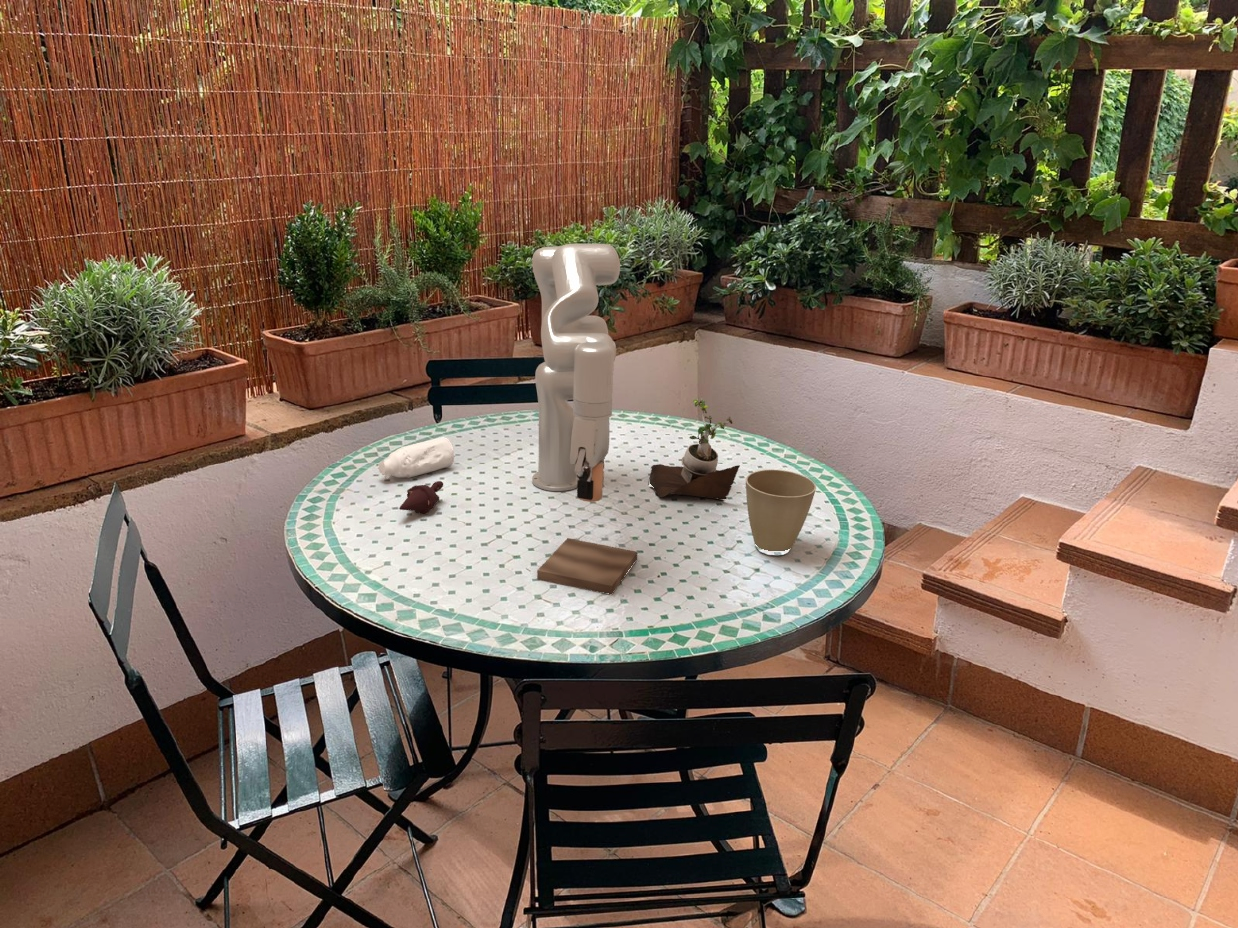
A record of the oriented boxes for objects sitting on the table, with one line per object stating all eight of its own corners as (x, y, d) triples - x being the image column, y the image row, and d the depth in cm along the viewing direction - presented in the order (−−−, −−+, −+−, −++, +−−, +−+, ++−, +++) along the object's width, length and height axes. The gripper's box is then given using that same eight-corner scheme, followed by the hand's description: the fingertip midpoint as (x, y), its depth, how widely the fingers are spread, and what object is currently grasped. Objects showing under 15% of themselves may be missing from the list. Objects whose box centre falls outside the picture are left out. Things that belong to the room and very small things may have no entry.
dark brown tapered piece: (416, 502, 204) (456, 485, 217) (390, 487, 206) (431, 471, 219) (409, 528, 207) (449, 510, 220) (384, 514, 209) (425, 496, 222)
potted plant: (719, 481, 245) (746, 403, 230) (723, 526, 230) (753, 446, 215) (646, 467, 243) (669, 388, 228) (646, 512, 228) (670, 430, 213)
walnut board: (567, 546, 201) (567, 537, 200) (637, 560, 196) (637, 551, 195) (537, 579, 187) (537, 570, 186) (611, 594, 182) (611, 585, 181)
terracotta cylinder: (583, 490, 188) (583, 458, 186) (606, 494, 187) (607, 461, 184) (573, 499, 184) (574, 466, 181) (597, 503, 182) (598, 470, 180)
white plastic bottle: (374, 478, 232) (372, 449, 229) (438, 461, 244) (437, 433, 241) (390, 488, 226) (388, 458, 223) (455, 470, 238) (454, 441, 236)
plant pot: (755, 568, 195) (762, 498, 189) (729, 537, 208) (735, 471, 202) (819, 561, 199) (828, 493, 193) (789, 531, 212) (797, 467, 206)
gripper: (590, 392, 187) (588, 475, 194) (557, 417, 172) (556, 506, 179) (625, 397, 185) (621, 481, 191) (595, 422, 170) (592, 512, 176)
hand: (590, 492), depth 185 cm, fingers closed on terracotta cylinder, 5 cm apart
